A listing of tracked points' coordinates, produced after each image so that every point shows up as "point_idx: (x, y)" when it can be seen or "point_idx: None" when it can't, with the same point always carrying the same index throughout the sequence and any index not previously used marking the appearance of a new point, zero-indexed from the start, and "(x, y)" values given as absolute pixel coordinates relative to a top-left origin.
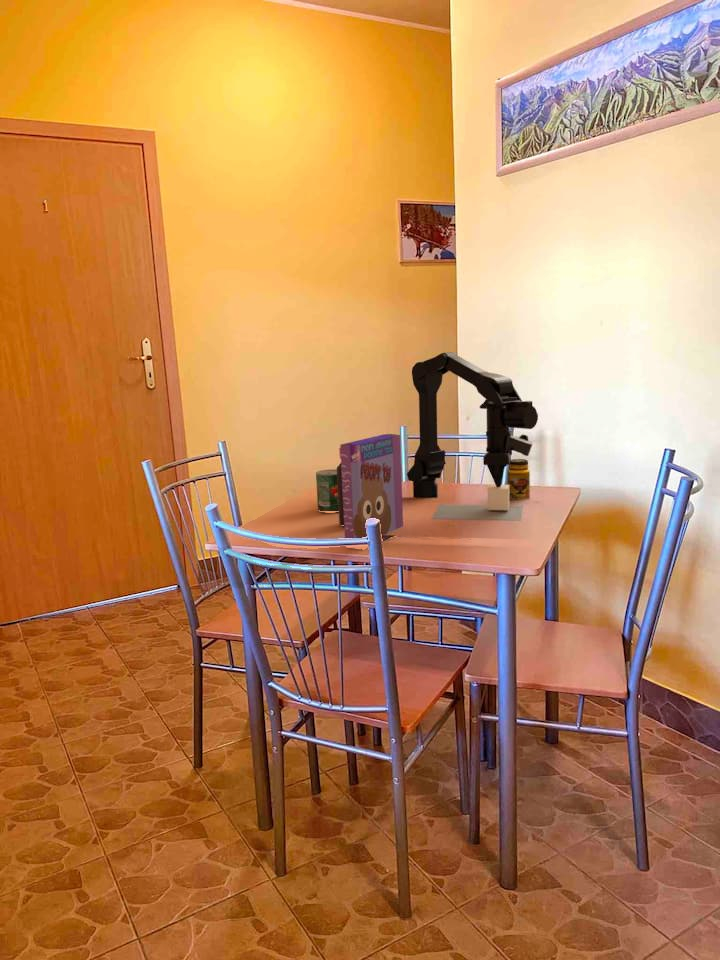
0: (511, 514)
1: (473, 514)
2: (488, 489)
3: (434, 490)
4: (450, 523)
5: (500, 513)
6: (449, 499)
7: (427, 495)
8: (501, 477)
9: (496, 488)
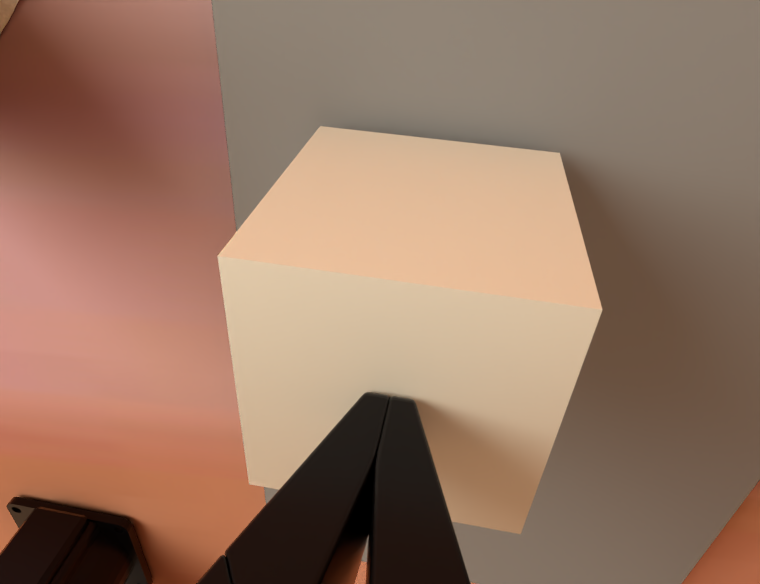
0: (690, 117)
1: (594, 430)
2: (521, 517)
3: (58, 575)
4: None
5: (607, 231)
6: (15, 450)
7: (106, 574)
8: (463, 560)
9: (531, 455)
